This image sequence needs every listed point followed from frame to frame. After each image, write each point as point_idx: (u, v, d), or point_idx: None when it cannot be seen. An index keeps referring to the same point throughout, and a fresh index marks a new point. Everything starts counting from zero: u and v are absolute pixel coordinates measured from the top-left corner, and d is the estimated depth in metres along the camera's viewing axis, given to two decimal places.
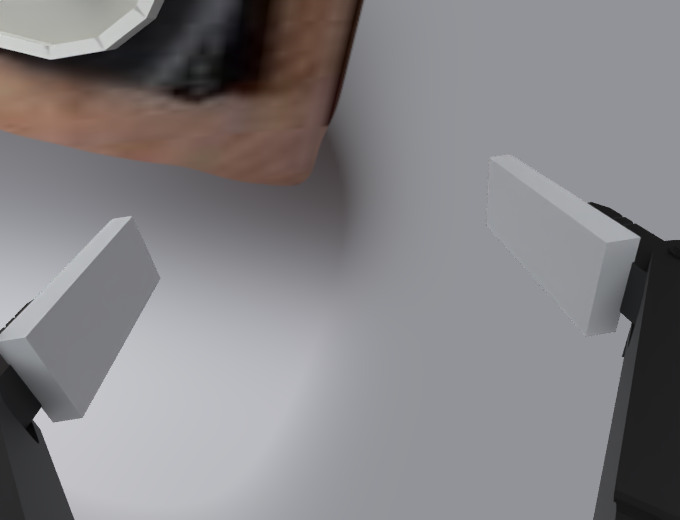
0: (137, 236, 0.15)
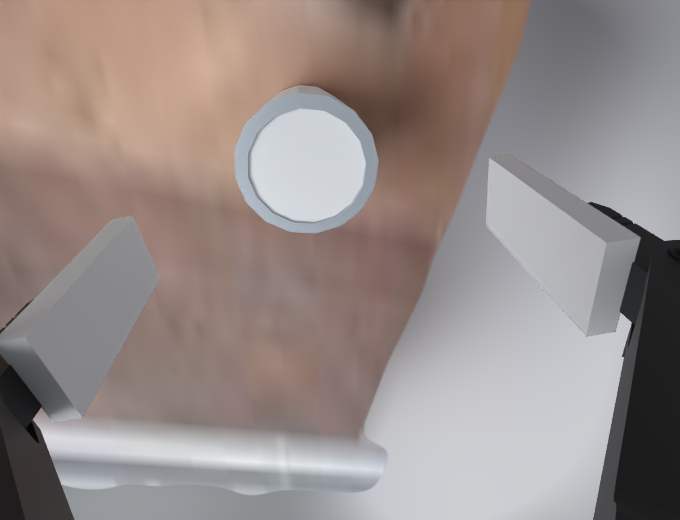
0: (137, 236, 0.15)
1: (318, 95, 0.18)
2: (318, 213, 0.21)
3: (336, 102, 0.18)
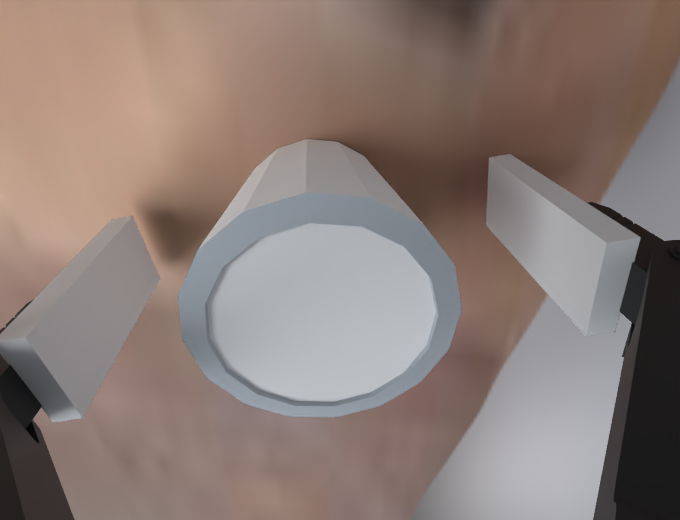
0: (137, 236, 0.15)
1: (350, 196, 0.08)
2: (342, 389, 0.11)
3: (387, 209, 0.09)
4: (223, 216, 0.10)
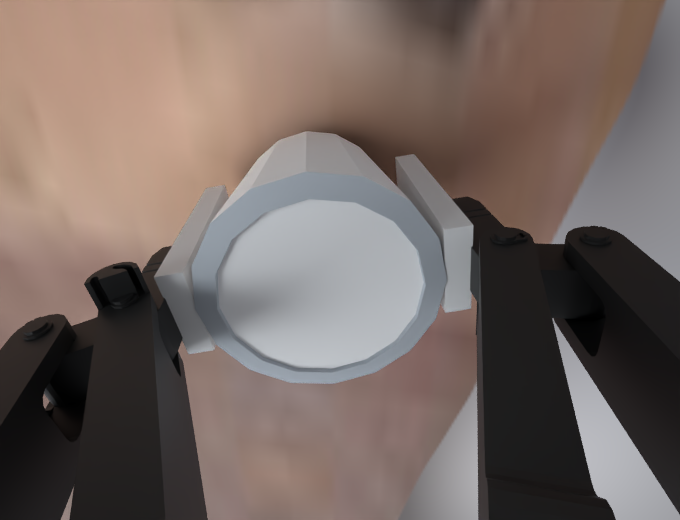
0: None
1: (345, 175, 0.09)
2: (339, 356, 0.12)
3: (378, 187, 0.10)
4: (231, 197, 0.11)
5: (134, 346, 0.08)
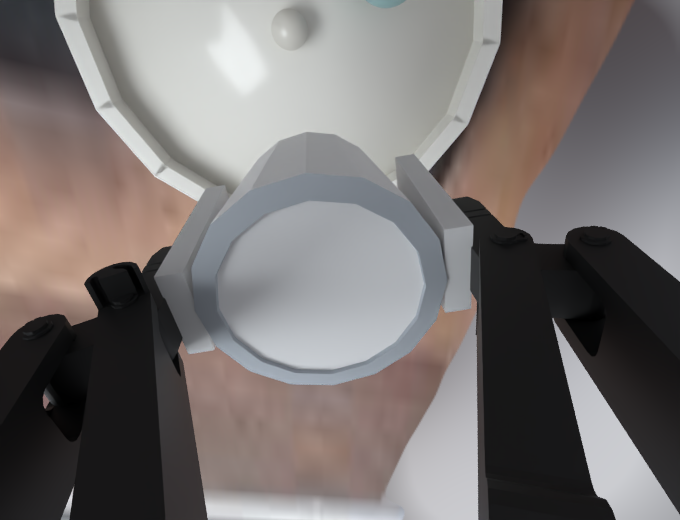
0: None
1: (345, 176, 0.09)
2: (339, 358, 0.12)
3: (378, 188, 0.10)
4: (231, 198, 0.11)
5: (134, 346, 0.08)
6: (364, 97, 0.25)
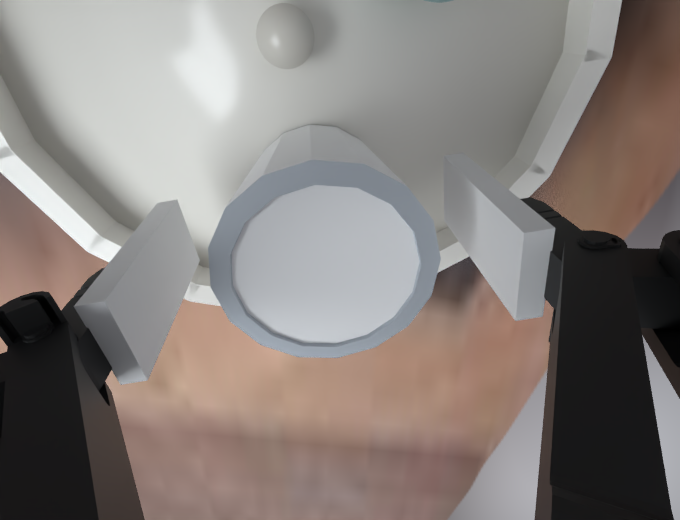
0: (181, 218, 0.15)
1: (347, 162, 0.10)
2: (342, 332, 0.13)
3: (377, 173, 0.11)
4: (242, 184, 0.12)
5: (53, 379, 0.08)
6: (396, 135, 0.17)
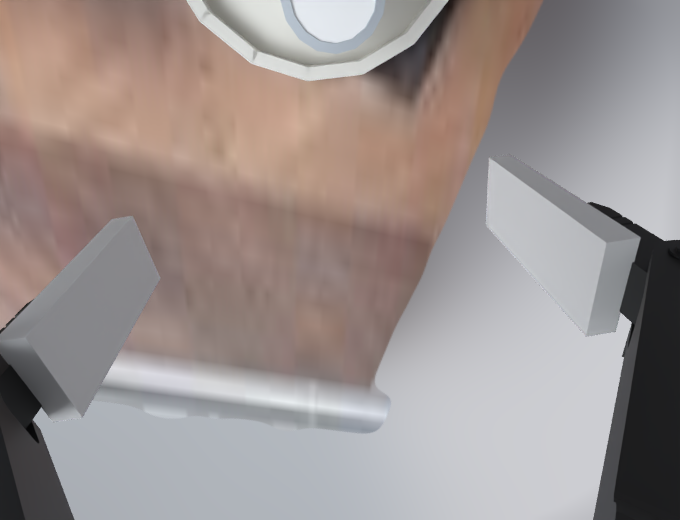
0: (137, 235, 0.15)
1: None
2: (339, 35, 0.27)
3: None
4: None
5: None
6: None
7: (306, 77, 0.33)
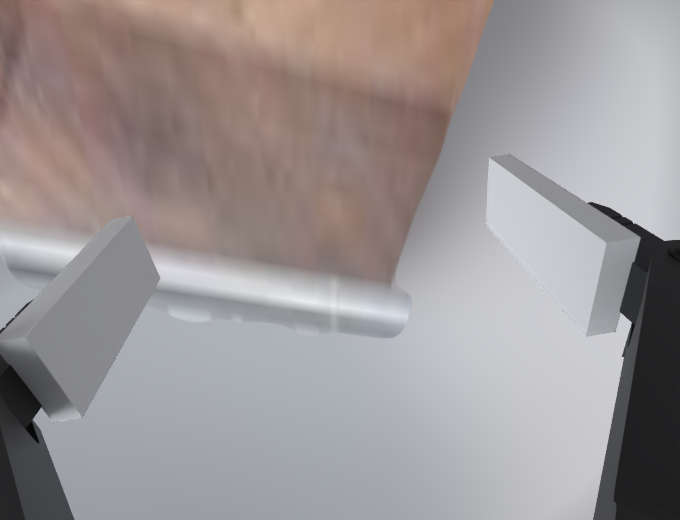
0: (137, 236, 0.15)
1: None
2: None
3: None
4: None
5: None
6: None
7: None
